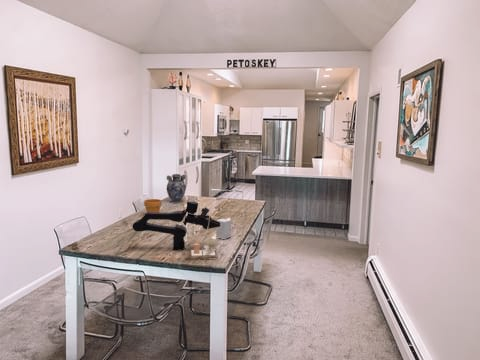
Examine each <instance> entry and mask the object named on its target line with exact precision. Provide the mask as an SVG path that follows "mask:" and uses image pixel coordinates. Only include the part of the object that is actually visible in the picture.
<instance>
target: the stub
mask: <svg viewBox="0 0 480 360" xmlns="http://www.w3.org/2000/svg"><path fill="white" fill-rule="evenodd" d="M200 247H201V246H200V243H198V242H197V243H193V249H190V250H191V255H192V256H202V250H203V249H200Z"/></svg>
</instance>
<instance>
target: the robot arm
mask: <svg viewBox="0 0 480 360" xmlns="http://www.w3.org/2000/svg"><path fill="white" fill-rule="evenodd" d="M198 208H199V202H197V201H186V209H183V210H175V211H171V212H160V211H159V212H147V211H146V213H145V215H143V216H142V217H141V218H139V219H136V220H135V222H133V224H132V229H133V230H134V231H135V232H147V231H149V232H155V233H161V234H167V235H169V234H170V235H172V240H173V243H172V244H173V245H172V246H173V247H172V251H184V250H185V249H186V248H185V247H186V245H185V244H186V243H185V239H184V238H185V237H186V236H187V234H188V229H187V227H186V226H187V224H192V225H195V226H202V228H203V229H204V230H210V229H215V228H216V227H220V222H218V221H216V219H213V218H212V216H211V215H208V213H209V211H210V208H208V207H206V206H205V207H204V208H201V213H200V214H196V213H197V212H198ZM149 220H165V221H166V220H168V221H171V222H176V224H175V226H169V225H163V224H158V223H157V224H156V223H151V222H148V221H149ZM181 222H182V223H183V224H177V223H181Z"/></svg>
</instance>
